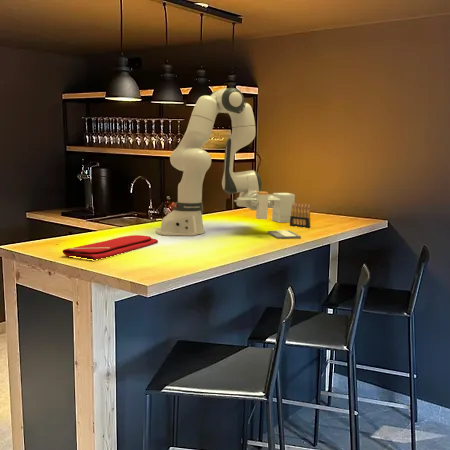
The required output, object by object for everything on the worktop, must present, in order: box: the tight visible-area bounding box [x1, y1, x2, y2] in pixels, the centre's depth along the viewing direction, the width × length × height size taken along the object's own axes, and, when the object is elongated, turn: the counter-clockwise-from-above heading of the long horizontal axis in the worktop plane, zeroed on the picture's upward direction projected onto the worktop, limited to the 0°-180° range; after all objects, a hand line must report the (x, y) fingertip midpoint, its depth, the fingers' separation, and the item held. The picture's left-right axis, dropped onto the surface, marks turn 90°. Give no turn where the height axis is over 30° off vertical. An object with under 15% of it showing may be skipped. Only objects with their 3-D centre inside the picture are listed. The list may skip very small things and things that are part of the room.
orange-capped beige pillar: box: [255, 191, 269, 220], centre depth 256 cm, size 4×4×12 cm
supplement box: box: [271, 192, 296, 224], centre depth 303 cm, size 9×9×15 cm
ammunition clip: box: [289, 202, 311, 229], centre depth 287 cm, size 11×2×12 cm, turn 57°
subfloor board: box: [267, 229, 302, 240], centre depth 262 cm, size 11×15×1 cm
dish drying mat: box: [62, 234, 159, 260], centre depth 224 cm, size 16×41×4 cm, turn 153°
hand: (262, 204), depth 255 cm, fingers closed on orange-capped beige pillar, 4 cm apart
